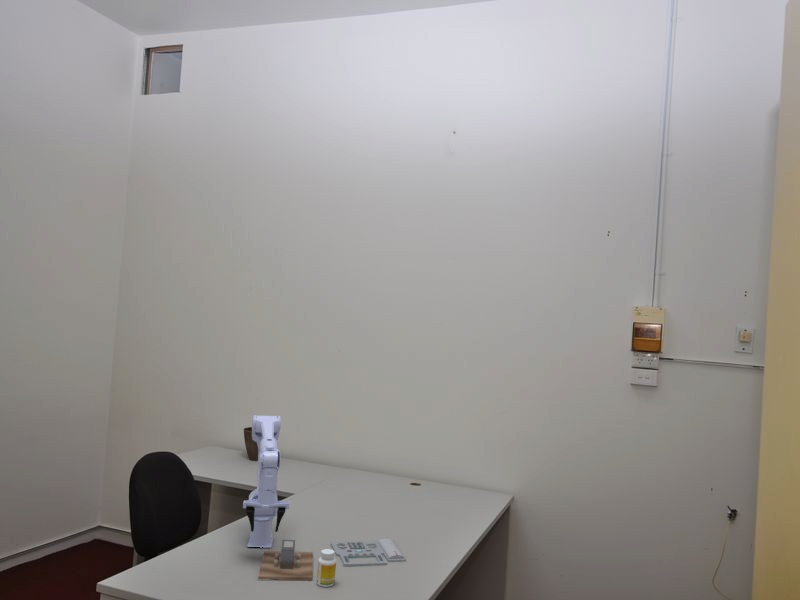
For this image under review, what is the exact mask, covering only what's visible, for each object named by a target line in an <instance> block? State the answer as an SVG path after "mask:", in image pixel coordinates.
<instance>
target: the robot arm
mask: <svg viewBox="0 0 800 600" xmlns="http://www.w3.org/2000/svg"><path fill="white" fill-rule="evenodd" d="M281 418H282V417H281V416H280V415H256V414H254V415H253V416H252V421H251V422H252V423H251V427H252V437H253V438H252V440H254V441H255V442H257V445H258V461H257V479H256V483H257V485H256V488H255V489H254V490H253V491H251V492H250V493H249V495H248V500H243V502H242V508H243V509H245V513H246V516H247V518H248V520H249V525H250V530H249V537H248V538H249V539H248V542H247V545H246V547H247V548H248V547H260V548H261V549H271V548H272V545H273V541H274V536H272V529H273V520H274V518H275V517H276V523H275V531H274V532H275V533H278V531H279V527H280V523H281V521H282V519H283V517H284V516H285V513H286V510H289V509H290V501H284V500H278V493H277V487H278V473H279V470H278V469H280V465H281V452H280V451H281V450H279V449H278V440H279V437H280V431H281V426H282V425H281V423H282V421H281ZM248 545H249V546H248ZM262 547H263V548H262ZM260 548H259V549H260Z"/></svg>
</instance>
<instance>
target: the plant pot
mask: <svg viewBox="0 0 800 600" xmlns="http://www.w3.org/2000/svg"><path fill="white" fill-rule="evenodd" d="M243 437H244V439H243V440H244V445H245V450H246V454H247V457H248V460H249V461H255V462H258V445H257V442H255V441H254V440H252V438H253V437H252V426H249V427H243Z"/></svg>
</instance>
